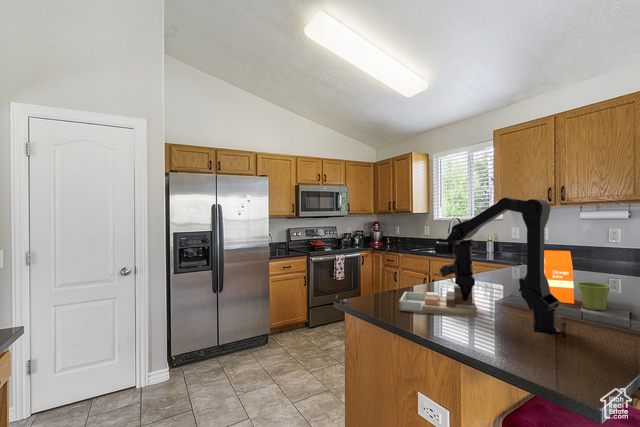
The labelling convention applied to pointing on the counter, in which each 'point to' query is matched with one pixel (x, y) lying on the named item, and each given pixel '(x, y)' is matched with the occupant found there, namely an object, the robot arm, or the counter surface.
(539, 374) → the counter surface
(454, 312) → the maple board
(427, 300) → the terracotta tile
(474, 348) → the counter surface
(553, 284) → the orange juice
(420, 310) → the tray
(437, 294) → the cream tile
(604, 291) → the plant pot
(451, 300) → the brown stepped block
